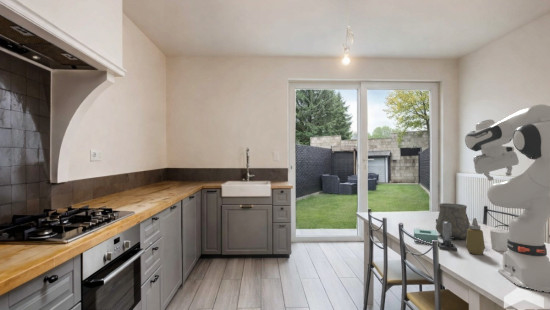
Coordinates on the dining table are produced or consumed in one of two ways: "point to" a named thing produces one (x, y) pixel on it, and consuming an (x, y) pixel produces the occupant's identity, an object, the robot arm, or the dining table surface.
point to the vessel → (453, 219)
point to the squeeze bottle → (475, 239)
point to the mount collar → (447, 247)
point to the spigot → (447, 234)
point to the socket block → (425, 235)
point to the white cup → (499, 239)
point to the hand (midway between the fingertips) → (500, 178)
